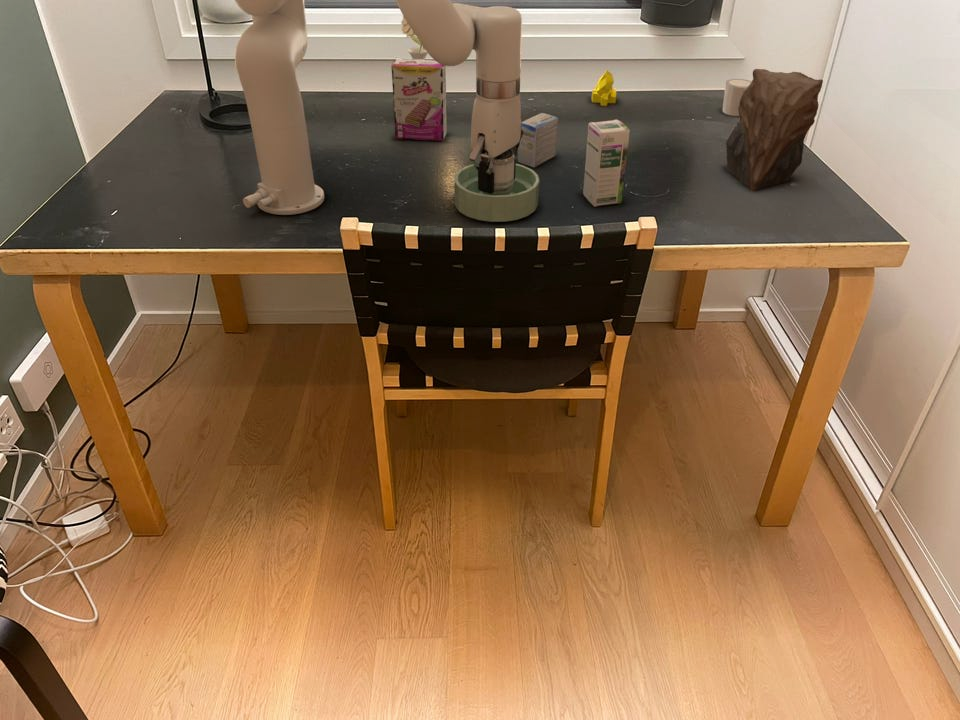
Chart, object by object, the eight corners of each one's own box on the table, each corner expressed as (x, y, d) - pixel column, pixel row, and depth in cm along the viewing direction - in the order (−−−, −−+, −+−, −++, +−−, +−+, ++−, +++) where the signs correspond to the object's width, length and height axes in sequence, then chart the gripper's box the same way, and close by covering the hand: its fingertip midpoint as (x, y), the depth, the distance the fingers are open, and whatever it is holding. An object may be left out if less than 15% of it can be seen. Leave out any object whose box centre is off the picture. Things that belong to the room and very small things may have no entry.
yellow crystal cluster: (614, 95, 192) (618, 64, 187) (615, 106, 185) (619, 74, 181) (591, 94, 192) (594, 63, 187) (591, 105, 186) (595, 73, 181)
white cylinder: (714, 109, 184) (719, 80, 179) (736, 105, 186) (742, 76, 182) (732, 118, 179) (738, 88, 174) (755, 114, 181) (761, 85, 177)
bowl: (508, 232, 133) (509, 204, 129) (438, 210, 140) (437, 182, 136) (552, 201, 143) (554, 174, 140) (485, 181, 150) (485, 155, 147)
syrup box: (593, 207, 141) (601, 132, 132) (581, 194, 145) (588, 120, 137) (621, 203, 142) (631, 129, 133) (608, 190, 147) (617, 117, 138)
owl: (718, 166, 156) (739, 67, 144) (772, 160, 159) (796, 62, 147) (750, 191, 147) (775, 87, 135) (807, 184, 149) (836, 82, 137)
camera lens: (476, 196, 138) (476, 155, 133) (484, 182, 143) (484, 142, 138) (509, 200, 137) (510, 158, 132) (516, 185, 141) (517, 145, 137)
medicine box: (539, 151, 162) (541, 112, 157) (556, 156, 160) (559, 116, 155) (517, 163, 157) (518, 122, 152) (534, 168, 155) (536, 127, 150)
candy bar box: (395, 140, 167) (389, 64, 157) (399, 132, 171) (394, 57, 161) (444, 142, 166) (442, 66, 156) (447, 134, 170) (445, 59, 160)
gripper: (507, 70, 135) (505, 164, 146) (450, 96, 124) (452, 196, 135) (543, 77, 132) (538, 173, 143) (487, 105, 121) (487, 207, 132)
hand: (496, 184), depth 139 cm, fingers closed on camera lens, 6 cm apart
